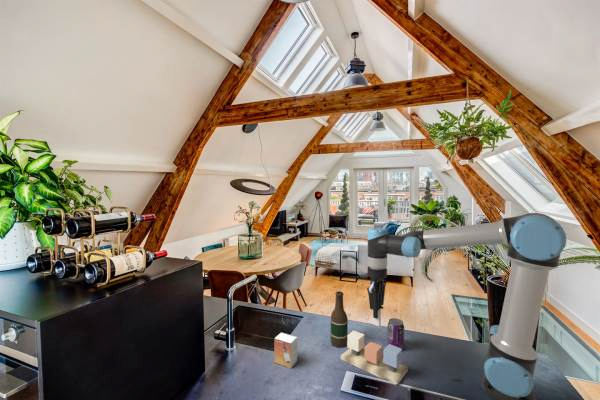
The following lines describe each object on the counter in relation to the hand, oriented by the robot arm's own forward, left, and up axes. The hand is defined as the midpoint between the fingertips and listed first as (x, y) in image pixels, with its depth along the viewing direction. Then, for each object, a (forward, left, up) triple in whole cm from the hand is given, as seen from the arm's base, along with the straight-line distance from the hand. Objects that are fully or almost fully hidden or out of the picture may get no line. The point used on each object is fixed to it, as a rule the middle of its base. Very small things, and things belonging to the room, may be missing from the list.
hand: (376, 324), depth 114 cm
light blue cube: (-7, +1, -12) cm, 14 cm away
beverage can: (-1, -17, -17) cm, 24 cm away
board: (+1, +1, -17) cm, 17 cm away
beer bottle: (+20, -3, -17) cm, 26 cm away
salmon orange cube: (+1, +1, -14) cm, 14 cm away
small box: (+29, +23, -17) cm, 40 cm away
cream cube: (+9, +1, -12) cm, 15 cm away
